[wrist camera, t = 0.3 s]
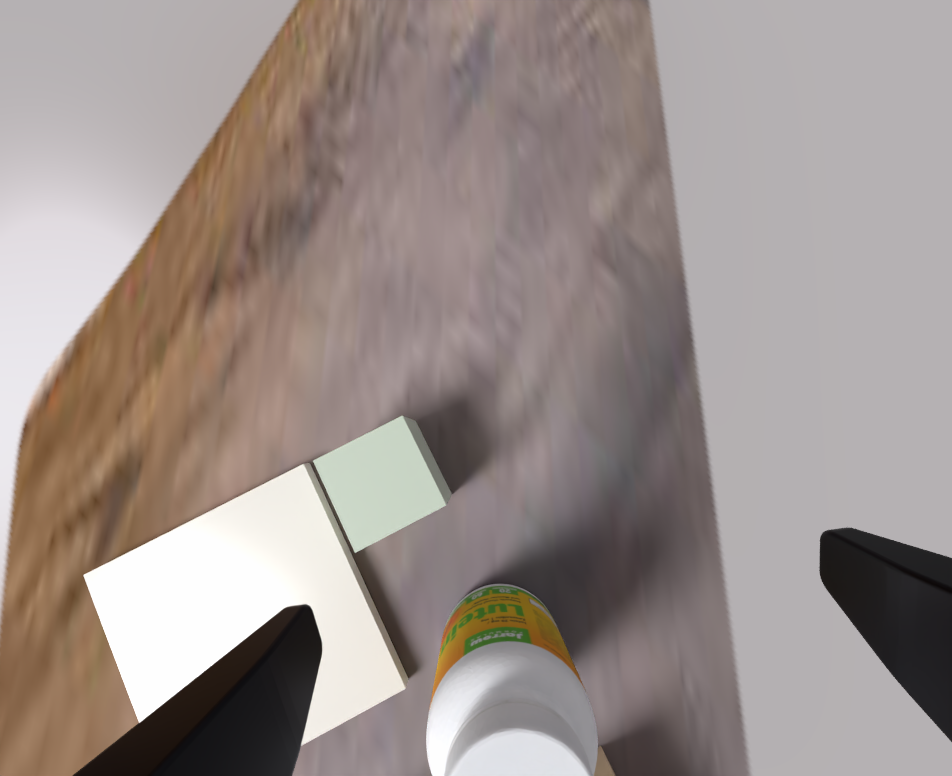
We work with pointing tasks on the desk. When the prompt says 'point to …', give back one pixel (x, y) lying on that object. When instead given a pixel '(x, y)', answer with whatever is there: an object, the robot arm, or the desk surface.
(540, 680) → the supplement bottle
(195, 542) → the ceramic tile
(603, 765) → the beech block
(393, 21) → the desk surface
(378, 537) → the sage block
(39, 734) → the desk surface
